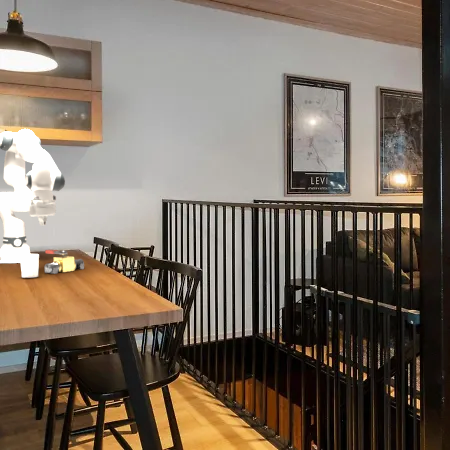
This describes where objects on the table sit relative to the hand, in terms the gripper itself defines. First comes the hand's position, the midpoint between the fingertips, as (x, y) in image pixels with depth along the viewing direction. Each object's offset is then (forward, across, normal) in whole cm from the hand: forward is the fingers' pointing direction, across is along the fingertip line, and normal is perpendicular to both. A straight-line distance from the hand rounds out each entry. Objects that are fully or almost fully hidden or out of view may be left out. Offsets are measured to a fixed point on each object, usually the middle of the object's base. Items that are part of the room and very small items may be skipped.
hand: (42, 225), depth 229 cm
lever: (+14, +5, -4) cm, 16 cm away
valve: (+22, +2, -9) cm, 24 cm away
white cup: (+23, -15, -1) cm, 27 cm away
